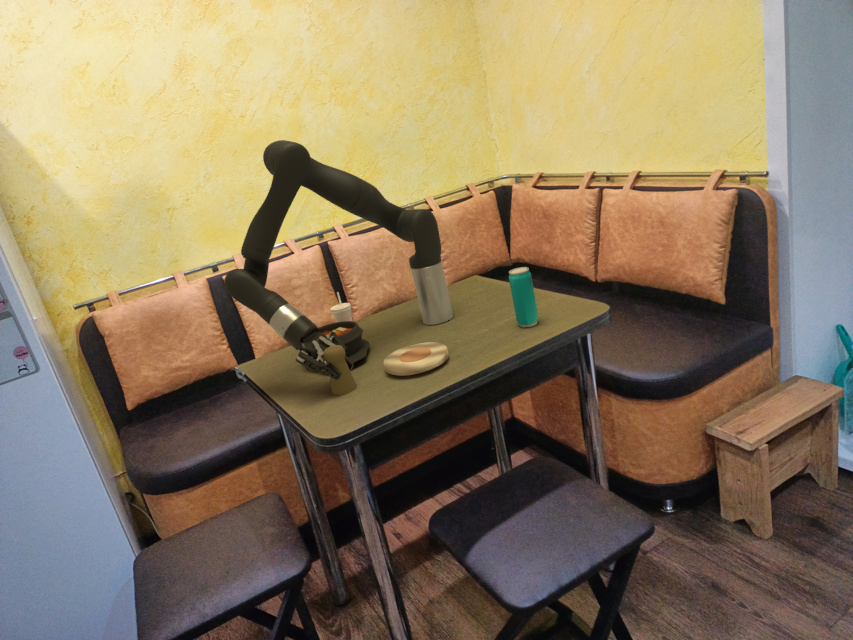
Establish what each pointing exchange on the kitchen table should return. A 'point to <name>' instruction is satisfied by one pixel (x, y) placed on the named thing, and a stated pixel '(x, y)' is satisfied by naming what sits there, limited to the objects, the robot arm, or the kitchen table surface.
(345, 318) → the smoothie
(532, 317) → the beverage can
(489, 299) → the kitchen table surface
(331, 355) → the brown pepper shaker
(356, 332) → the casserole
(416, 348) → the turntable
